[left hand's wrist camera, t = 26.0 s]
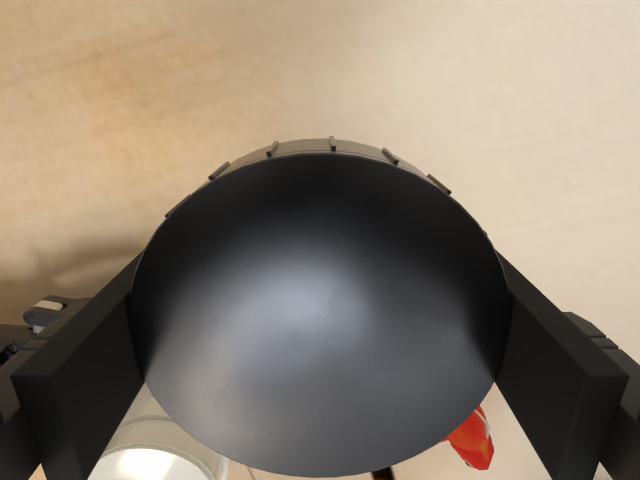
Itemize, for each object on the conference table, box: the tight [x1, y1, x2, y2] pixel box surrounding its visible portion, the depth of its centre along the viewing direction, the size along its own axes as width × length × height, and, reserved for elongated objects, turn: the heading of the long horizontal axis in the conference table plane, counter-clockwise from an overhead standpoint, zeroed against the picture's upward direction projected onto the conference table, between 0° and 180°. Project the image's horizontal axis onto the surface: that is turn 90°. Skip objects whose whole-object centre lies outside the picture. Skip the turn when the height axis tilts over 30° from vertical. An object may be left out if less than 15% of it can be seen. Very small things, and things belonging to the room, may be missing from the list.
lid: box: [128, 136, 511, 478], centre depth 11 cm, size 10×10×2 cm
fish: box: [435, 405, 494, 470], centre depth 36 cm, size 11×16×10 cm
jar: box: [87, 383, 231, 480], centre depth 31 cm, size 8×8×16 cm
